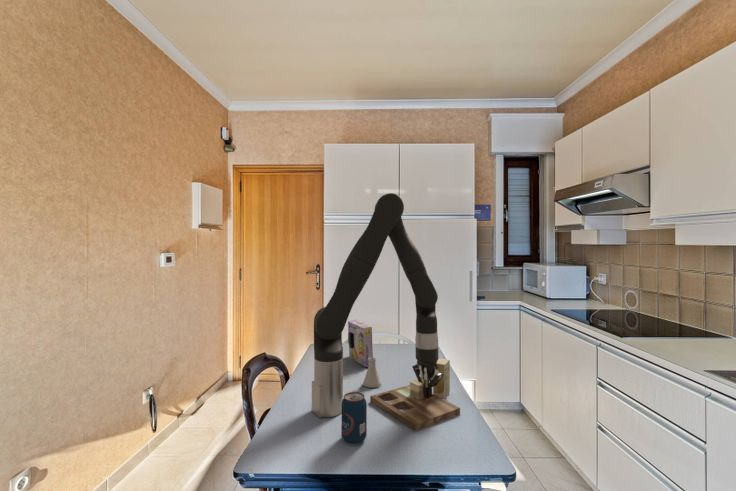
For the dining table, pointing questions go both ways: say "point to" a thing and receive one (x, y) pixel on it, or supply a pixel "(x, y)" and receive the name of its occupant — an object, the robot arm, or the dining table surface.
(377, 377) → the flask
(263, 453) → the dining table surface
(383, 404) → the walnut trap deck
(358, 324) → the cake pan box
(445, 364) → the skincare box
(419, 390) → the birch block
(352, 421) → the soda can
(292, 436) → the dining table surface
